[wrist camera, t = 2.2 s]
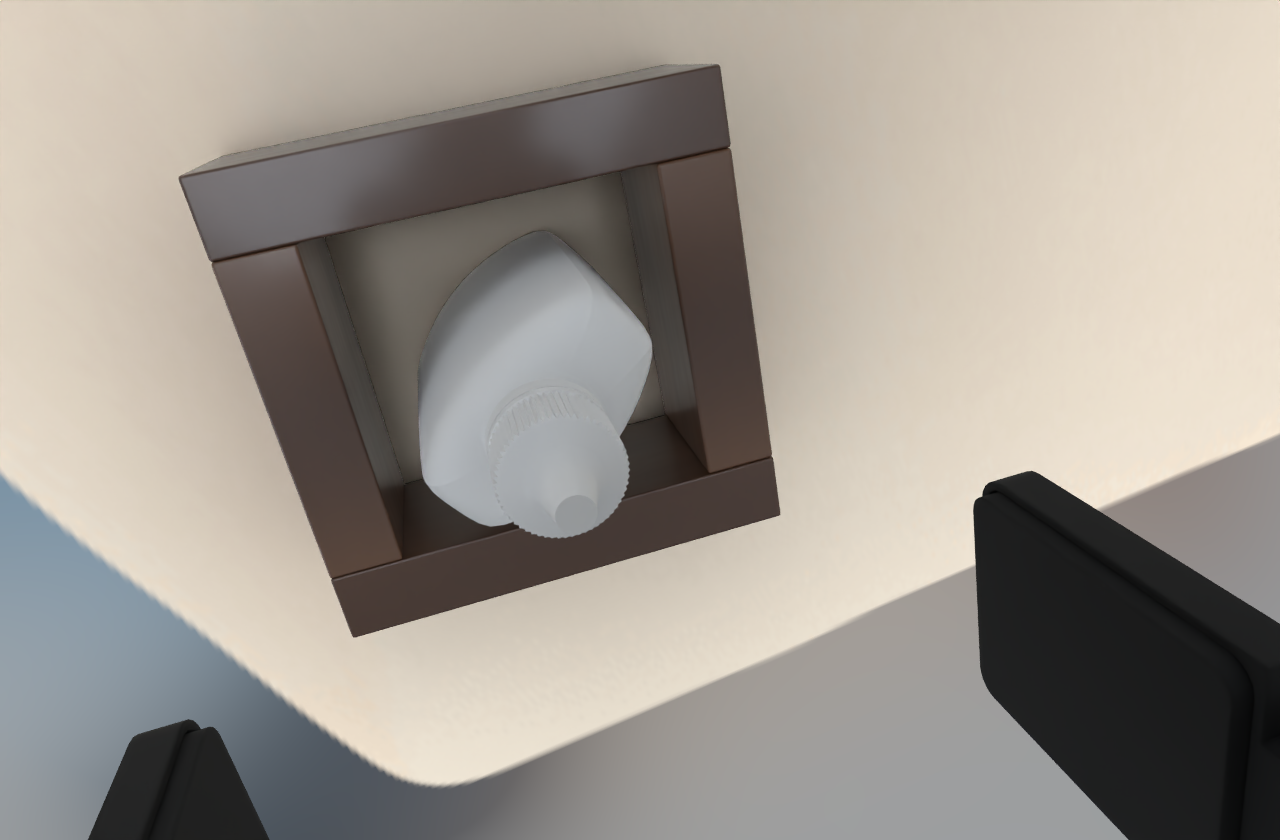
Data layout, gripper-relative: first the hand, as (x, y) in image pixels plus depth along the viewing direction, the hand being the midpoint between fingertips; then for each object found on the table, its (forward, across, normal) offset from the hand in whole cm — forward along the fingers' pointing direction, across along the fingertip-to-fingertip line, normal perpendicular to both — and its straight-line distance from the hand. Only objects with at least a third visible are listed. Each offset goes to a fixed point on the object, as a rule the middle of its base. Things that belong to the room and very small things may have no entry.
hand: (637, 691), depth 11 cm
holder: (+16, 0, 0) cm, 16 cm away
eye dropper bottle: (+16, 0, 0) cm, 16 cm away
